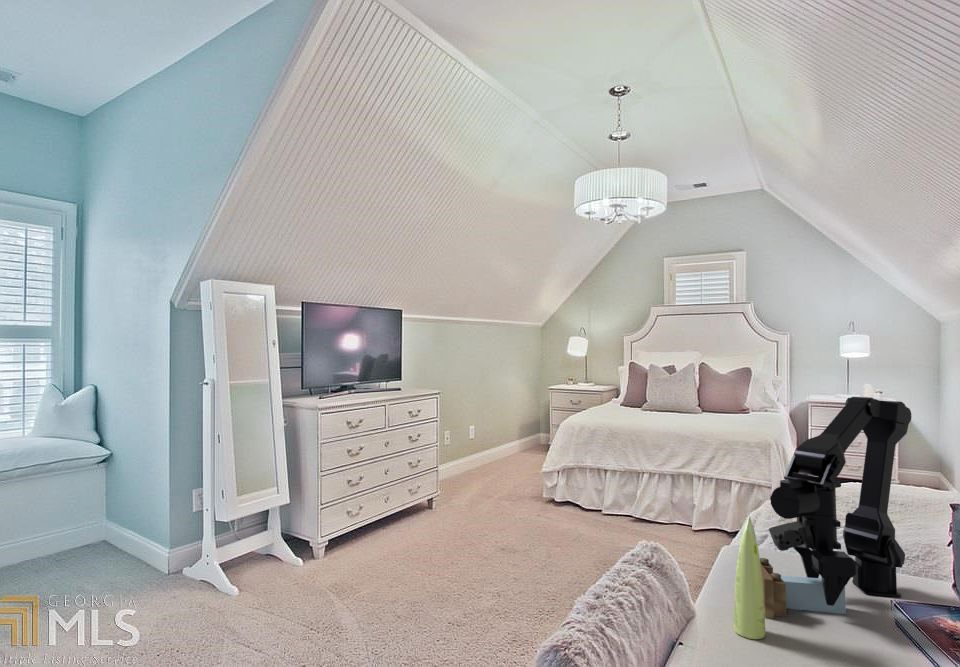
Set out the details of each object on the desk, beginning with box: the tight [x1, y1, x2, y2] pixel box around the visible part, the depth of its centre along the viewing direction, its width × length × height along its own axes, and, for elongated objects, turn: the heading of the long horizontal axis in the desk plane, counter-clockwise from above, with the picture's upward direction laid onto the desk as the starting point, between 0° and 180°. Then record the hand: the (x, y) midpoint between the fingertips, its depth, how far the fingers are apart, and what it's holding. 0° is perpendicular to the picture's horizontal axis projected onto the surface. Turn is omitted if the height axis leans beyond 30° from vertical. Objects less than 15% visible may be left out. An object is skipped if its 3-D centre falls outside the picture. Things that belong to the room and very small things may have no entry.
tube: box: [733, 513, 766, 640], centre depth 96 cm, size 6×5×20 cm
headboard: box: [759, 557, 787, 620], centre depth 108 cm, size 4×14×7 cm, turn 167°
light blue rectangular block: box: [768, 573, 847, 615], centre depth 107 cm, size 13×3×5 cm, turn 77°
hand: (820, 594), depth 106 cm, fingers open, 9 cm apart
